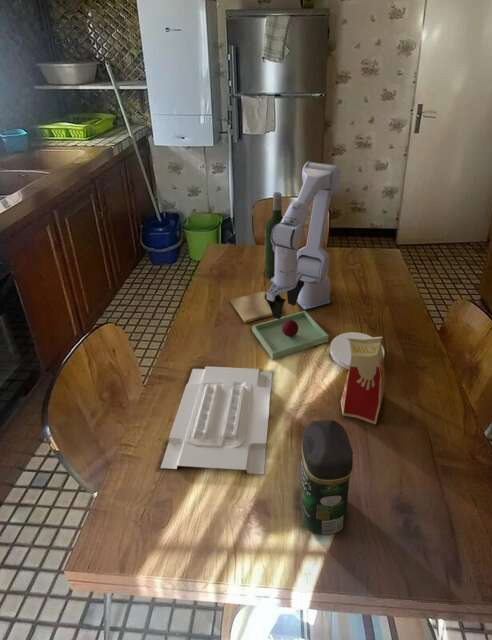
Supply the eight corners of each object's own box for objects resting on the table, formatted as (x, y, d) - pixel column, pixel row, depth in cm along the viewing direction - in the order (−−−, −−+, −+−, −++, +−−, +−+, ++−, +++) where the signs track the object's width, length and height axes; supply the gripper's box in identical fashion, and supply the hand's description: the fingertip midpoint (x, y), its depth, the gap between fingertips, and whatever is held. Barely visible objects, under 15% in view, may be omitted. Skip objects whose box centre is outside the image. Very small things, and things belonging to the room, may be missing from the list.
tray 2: (304, 316, 131) (305, 310, 130) (328, 341, 121) (328, 335, 120) (252, 331, 124) (252, 325, 123) (272, 359, 114) (272, 353, 113)
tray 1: (160, 468, 85) (158, 455, 84) (192, 371, 111) (191, 360, 109) (264, 474, 84) (264, 460, 83) (272, 375, 110) (272, 363, 108)
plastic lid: (384, 344, 120) (385, 337, 119) (381, 379, 108) (383, 372, 106) (333, 335, 123) (334, 328, 122) (325, 369, 111) (326, 361, 110)
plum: (293, 328, 125) (293, 314, 123) (301, 337, 121) (301, 323, 119) (278, 332, 123) (279, 319, 121) (286, 341, 119) (286, 328, 117)
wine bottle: (282, 281, 149) (284, 199, 136) (261, 276, 152) (261, 195, 139) (290, 270, 156) (292, 191, 143) (269, 266, 158) (270, 188, 145)
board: (264, 293, 142) (264, 290, 142) (281, 312, 132) (281, 310, 132) (230, 302, 137) (230, 299, 137) (245, 323, 128) (245, 320, 127)
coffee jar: (295, 486, 82) (298, 415, 74) (336, 482, 83) (344, 411, 75) (304, 540, 73) (309, 466, 65) (349, 535, 74) (360, 461, 66)
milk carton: (382, 395, 103) (393, 326, 94) (377, 425, 95) (389, 353, 86) (344, 385, 106) (351, 318, 97) (336, 414, 98) (343, 343, 89)
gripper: (287, 252, 121) (286, 294, 127) (256, 274, 110) (257, 318, 116) (309, 259, 117) (307, 302, 123) (280, 282, 106) (279, 327, 112)
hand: (284, 310), depth 119 cm, fingers open, 7 cm apart
